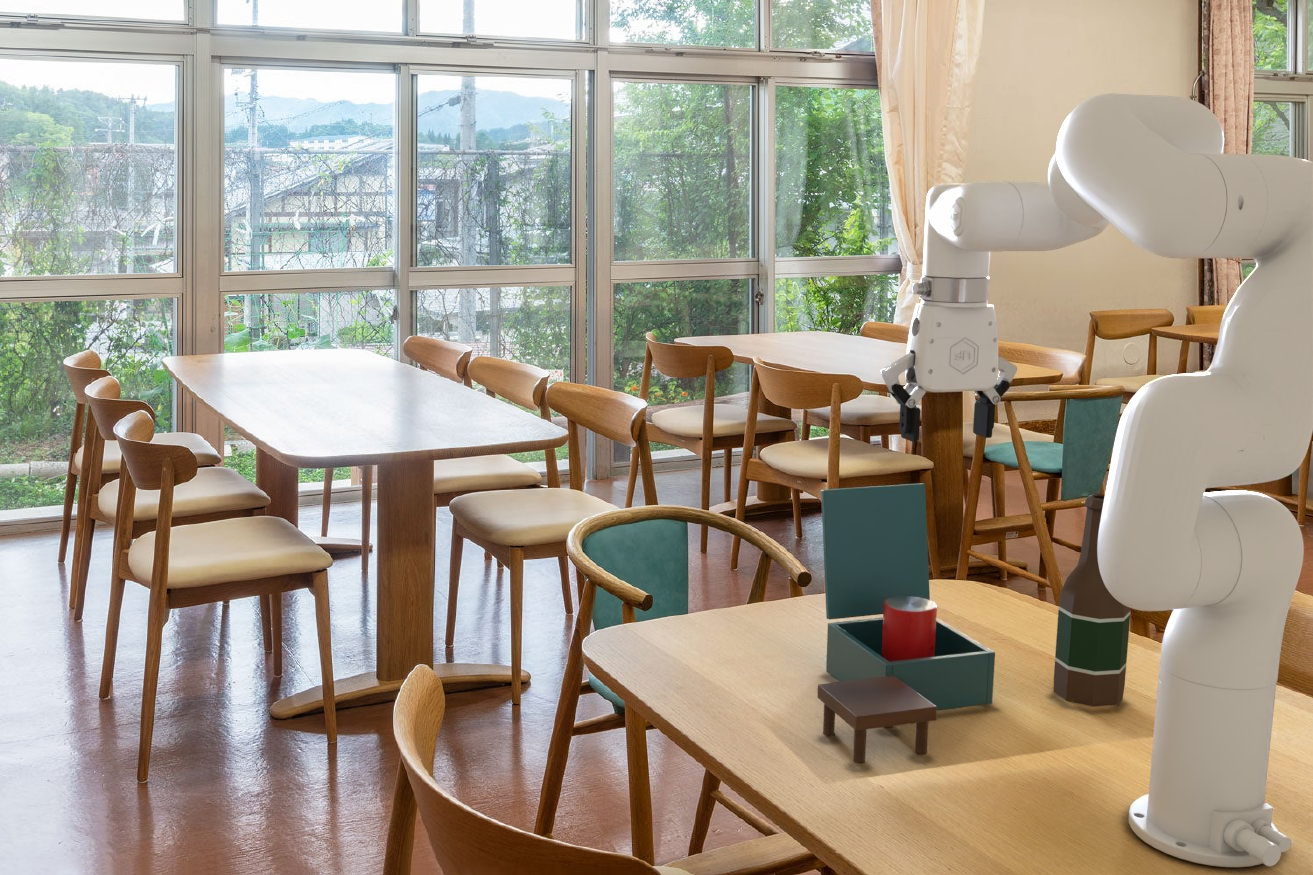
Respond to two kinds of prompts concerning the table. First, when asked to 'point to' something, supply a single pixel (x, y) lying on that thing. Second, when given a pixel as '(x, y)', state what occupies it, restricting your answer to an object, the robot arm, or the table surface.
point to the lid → (873, 547)
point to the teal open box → (915, 663)
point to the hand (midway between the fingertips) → (946, 437)
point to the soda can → (908, 628)
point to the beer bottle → (1090, 628)
